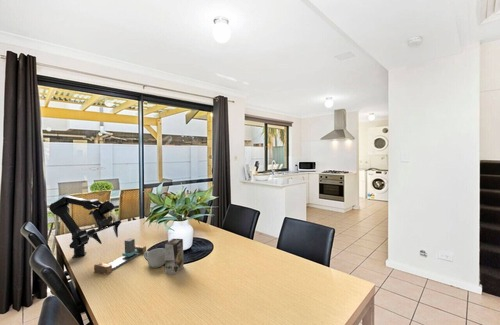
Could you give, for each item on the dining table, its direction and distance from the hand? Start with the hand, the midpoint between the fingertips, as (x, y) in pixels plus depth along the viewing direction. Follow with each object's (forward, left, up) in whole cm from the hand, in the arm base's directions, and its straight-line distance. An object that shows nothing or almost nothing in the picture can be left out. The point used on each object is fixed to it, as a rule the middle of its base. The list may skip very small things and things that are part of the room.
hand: (109, 240), depth 148 cm
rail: (+7, +8, -11) cm, 15 cm away
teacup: (+20, +26, -12) cm, 35 cm away
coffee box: (+31, +36, -12) cm, 49 cm away
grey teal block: (+2, +11, -9) cm, 15 cm away
